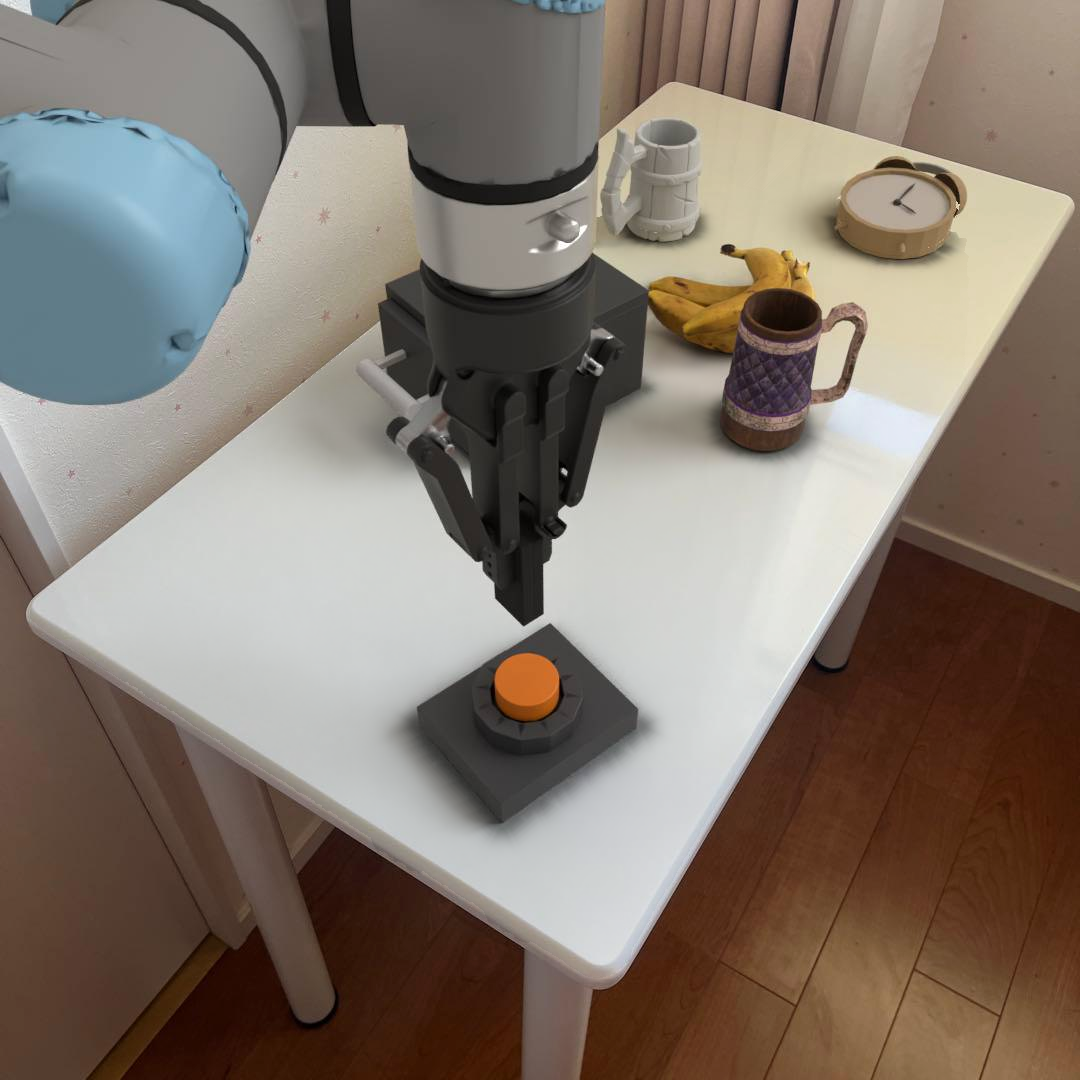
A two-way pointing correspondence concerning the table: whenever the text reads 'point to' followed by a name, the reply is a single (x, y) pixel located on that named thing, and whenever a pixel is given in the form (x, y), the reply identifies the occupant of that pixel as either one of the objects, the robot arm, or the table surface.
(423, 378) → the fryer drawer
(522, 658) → the button
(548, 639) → the control block
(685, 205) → the mug
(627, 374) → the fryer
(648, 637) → the table surface
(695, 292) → the banana
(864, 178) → the alarm clock
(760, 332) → the mug
